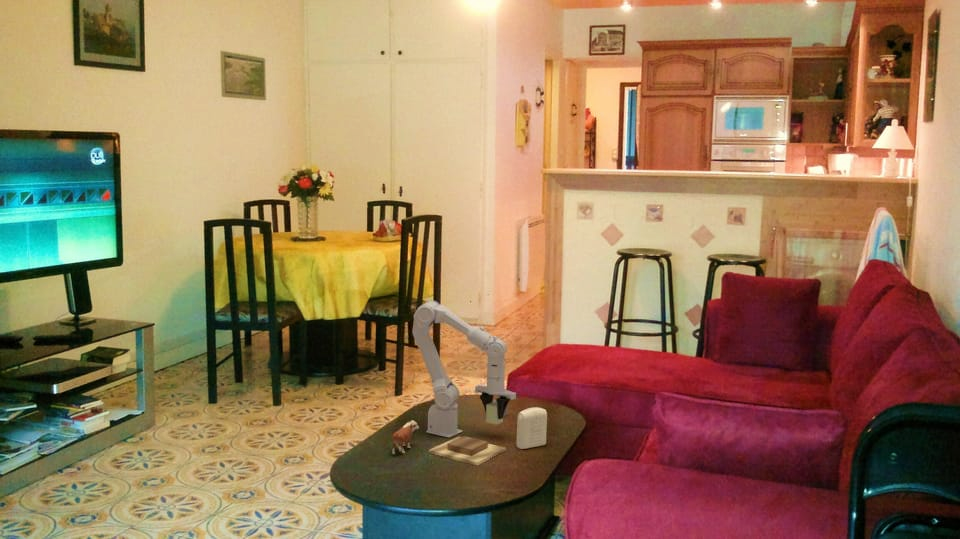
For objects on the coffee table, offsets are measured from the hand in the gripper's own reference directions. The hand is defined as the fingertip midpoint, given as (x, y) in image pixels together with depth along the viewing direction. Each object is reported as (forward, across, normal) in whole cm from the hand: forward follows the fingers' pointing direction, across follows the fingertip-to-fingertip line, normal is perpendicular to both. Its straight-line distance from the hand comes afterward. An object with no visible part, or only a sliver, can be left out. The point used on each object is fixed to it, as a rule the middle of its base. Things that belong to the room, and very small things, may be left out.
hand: (494, 417), depth 283 cm
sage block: (+2, 0, 0) cm, 2 cm away
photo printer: (+7, -14, 0) cm, 16 cm away
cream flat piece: (+7, -1, +17) cm, 18 cm away
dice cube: (+7, +12, -20) cm, 25 cm away
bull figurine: (+7, +16, +27) cm, 32 cm away
